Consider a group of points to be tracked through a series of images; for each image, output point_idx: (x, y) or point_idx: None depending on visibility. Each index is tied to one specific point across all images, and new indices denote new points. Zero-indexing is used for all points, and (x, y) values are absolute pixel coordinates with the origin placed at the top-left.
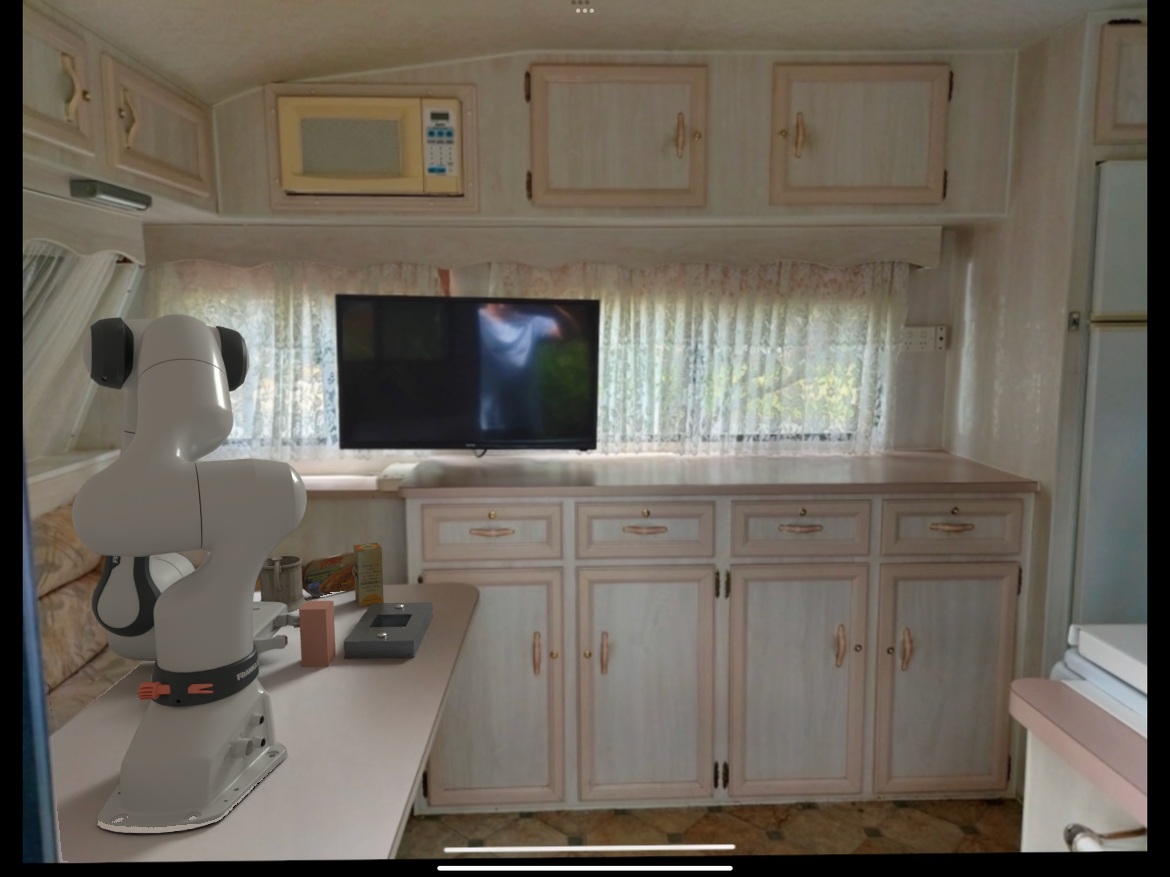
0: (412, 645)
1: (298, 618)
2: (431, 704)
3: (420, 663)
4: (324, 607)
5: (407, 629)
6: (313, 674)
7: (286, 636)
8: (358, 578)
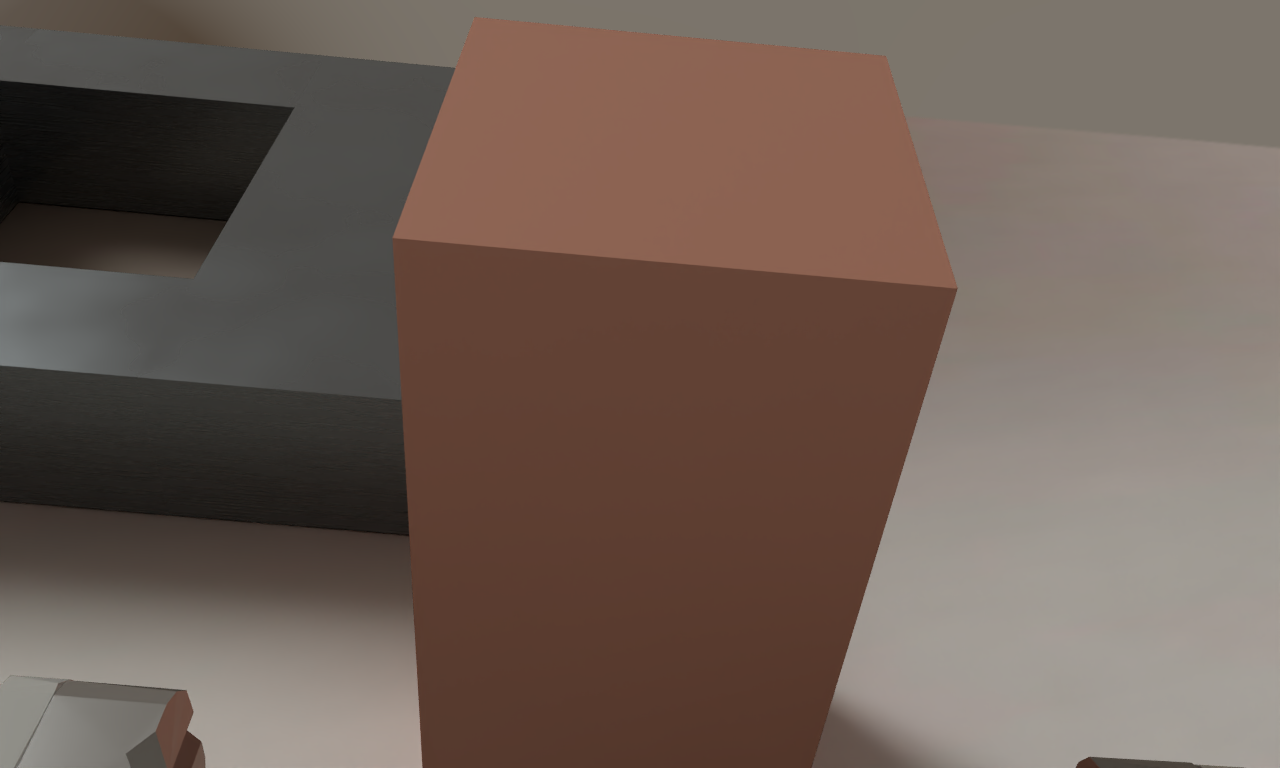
0: None
1: (134, 765)
2: (1222, 150)
3: None
4: (812, 65)
5: (365, 101)
6: (956, 744)
7: (1112, 759)
8: None
